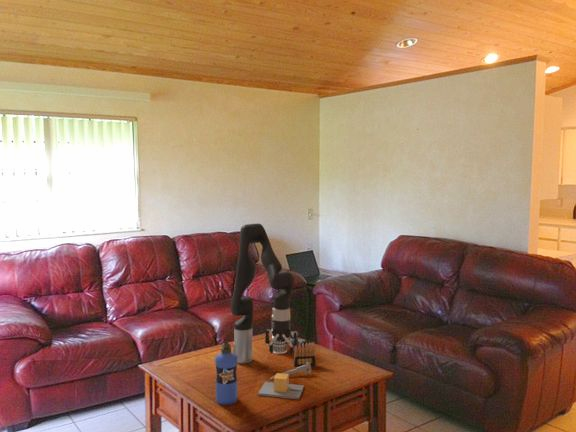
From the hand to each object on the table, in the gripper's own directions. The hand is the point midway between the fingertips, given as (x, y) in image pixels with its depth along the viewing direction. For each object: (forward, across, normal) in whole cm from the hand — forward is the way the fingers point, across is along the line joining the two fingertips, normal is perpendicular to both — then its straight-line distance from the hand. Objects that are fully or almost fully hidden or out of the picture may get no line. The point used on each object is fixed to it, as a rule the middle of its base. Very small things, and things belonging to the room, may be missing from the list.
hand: (281, 353), depth 219 cm
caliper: (+18, +1, +17) cm, 24 cm away
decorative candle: (+18, -12, +48) cm, 52 cm away
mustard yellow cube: (+16, 0, 0) cm, 16 cm away
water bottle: (+17, -21, -13) cm, 30 cm away
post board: (+17, 0, 0) cm, 17 cm away
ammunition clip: (+18, +5, +31) cm, 36 cm away
